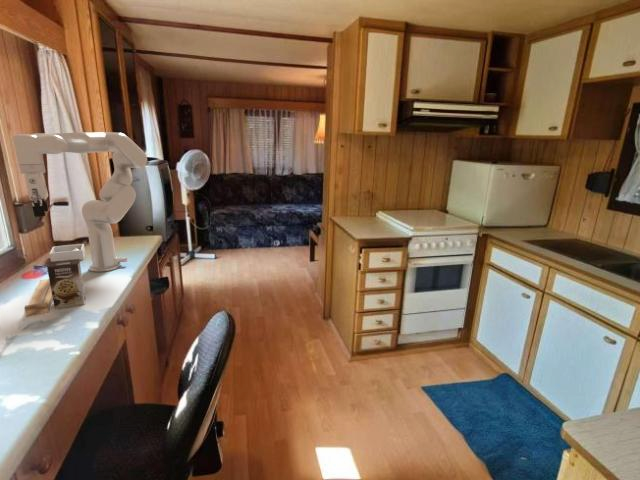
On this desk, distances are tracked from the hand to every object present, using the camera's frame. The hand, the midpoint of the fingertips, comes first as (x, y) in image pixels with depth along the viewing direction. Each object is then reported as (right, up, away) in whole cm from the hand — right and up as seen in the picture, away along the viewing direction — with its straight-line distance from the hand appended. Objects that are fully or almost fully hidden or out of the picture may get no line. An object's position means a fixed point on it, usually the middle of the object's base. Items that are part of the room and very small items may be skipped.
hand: (41, 213), depth 137 cm
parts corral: (-18, -19, +40) cm, 48 cm away
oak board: (+3, -32, -2) cm, 32 cm away
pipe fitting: (-16, -19, +42) cm, 49 cm away
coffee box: (+16, -34, -6) cm, 38 cm away
